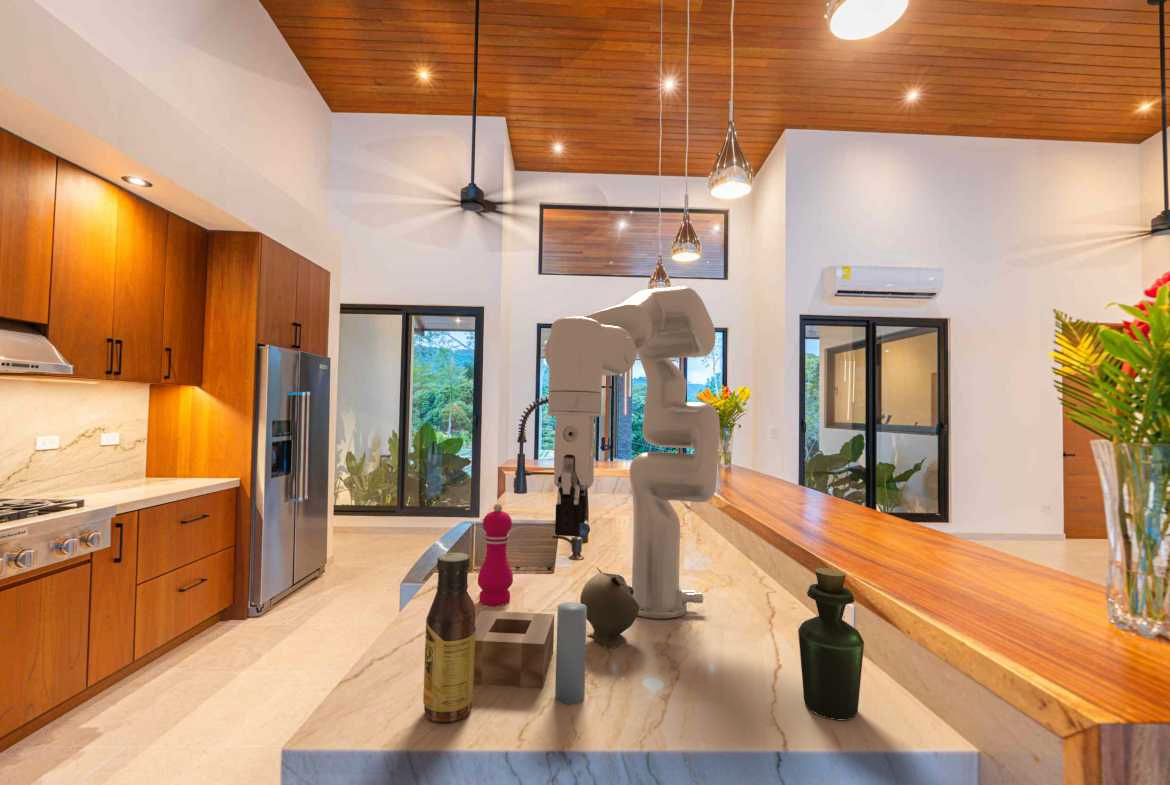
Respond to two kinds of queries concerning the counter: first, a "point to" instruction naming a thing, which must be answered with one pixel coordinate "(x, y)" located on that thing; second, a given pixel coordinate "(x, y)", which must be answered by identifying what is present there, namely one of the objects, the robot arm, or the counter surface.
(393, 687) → the counter surface
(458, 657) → the sauce bottle
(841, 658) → the potion bottle
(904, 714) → the counter surface
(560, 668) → the peg
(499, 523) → the pepper mill
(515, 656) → the socket block
